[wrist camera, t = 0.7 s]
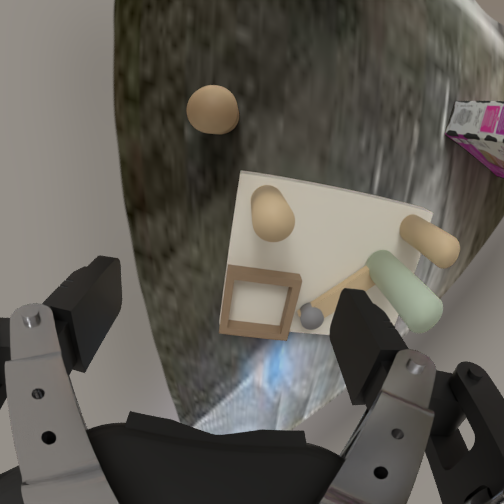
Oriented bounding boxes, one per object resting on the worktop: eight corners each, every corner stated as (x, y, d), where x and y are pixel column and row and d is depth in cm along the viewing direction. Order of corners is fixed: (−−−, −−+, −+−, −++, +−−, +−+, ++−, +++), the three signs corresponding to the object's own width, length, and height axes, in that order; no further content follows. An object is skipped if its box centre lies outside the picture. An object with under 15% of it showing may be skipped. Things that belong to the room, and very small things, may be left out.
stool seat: (240, 170, 29) (238, 185, 21) (422, 207, 31) (471, 233, 22) (220, 312, 35) (213, 367, 26) (381, 328, 37) (410, 375, 28)
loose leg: (204, 96, 27) (190, 83, 19) (242, 100, 27) (241, 88, 19) (199, 132, 28) (183, 130, 20) (236, 136, 28) (233, 136, 21)
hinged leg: (308, 327, 33) (327, 393, 24) (291, 307, 32) (308, 372, 23) (399, 267, 31) (446, 316, 21) (387, 243, 30) (437, 288, 20)
